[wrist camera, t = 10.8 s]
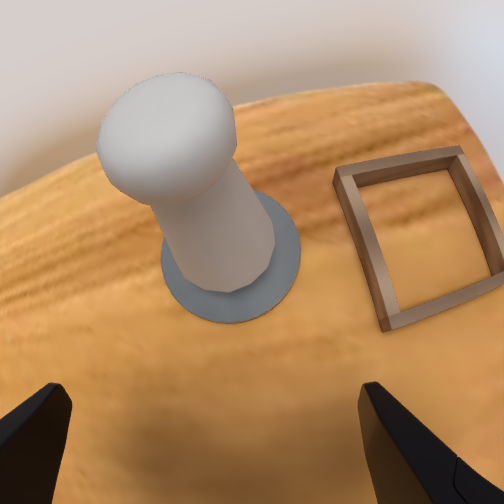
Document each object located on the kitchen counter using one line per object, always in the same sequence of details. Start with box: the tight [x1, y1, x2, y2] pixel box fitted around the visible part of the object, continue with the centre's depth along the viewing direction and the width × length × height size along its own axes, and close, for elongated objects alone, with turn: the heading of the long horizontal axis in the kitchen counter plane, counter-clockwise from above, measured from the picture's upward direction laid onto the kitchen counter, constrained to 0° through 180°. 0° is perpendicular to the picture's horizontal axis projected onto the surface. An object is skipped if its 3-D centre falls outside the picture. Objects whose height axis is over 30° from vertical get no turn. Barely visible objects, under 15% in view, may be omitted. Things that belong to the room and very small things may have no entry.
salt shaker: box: [96, 72, 275, 293], centre depth 14 cm, size 6×6×13 cm
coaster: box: [161, 190, 300, 323], centre depth 20 cm, size 9×9×1 cm
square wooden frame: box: [333, 145, 504, 332], centre depth 19 cm, size 11×11×2 cm
